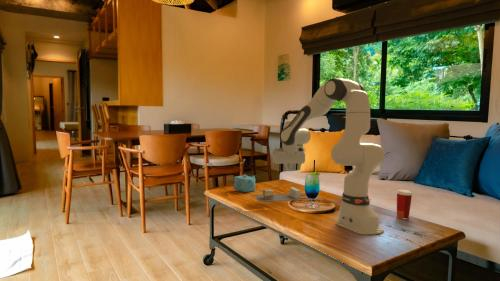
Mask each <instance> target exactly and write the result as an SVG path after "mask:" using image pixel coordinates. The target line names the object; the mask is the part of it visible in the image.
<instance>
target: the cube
mask: <svg viewBox="0 0 500 281" xmlns="http://www.w3.org/2000/svg"><path fill="white" fill-rule="evenodd" d="M274 192H275V190H273V189H272V188H263V189H262V195H263V198H264V199H273V196H274V194H275V193H274Z"/></svg>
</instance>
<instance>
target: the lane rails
mask: <svg viewBox="0 0 500 281" xmlns="http://www.w3.org/2000/svg"><path fill="white" fill-rule="evenodd" d="M305 193H306V192H303V193H301V192H300V196H306V195H305ZM274 195H290V193H274ZM274 195H273V196H274ZM249 196H250V197H254V196H263V194H250V195H249ZM309 199H310V198H300V199H292V200H269V201H259V200H257V201H256V202H257V203H263V202H264V203H265V202H267V203H268V202H283V201H285V202H287V201H290V202H291V201H305V202H310V201H309ZM319 200H320V201H321V198H319V197H318V198H316V199H315V201H316V202H317V201H319ZM315 201H314V202H315Z"/></svg>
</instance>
